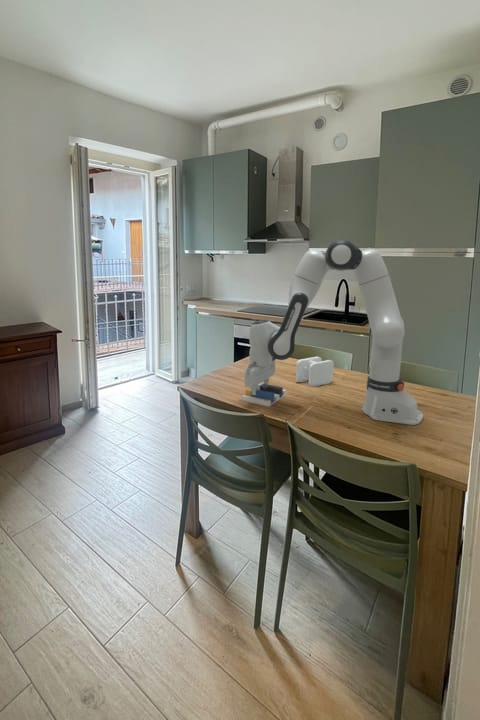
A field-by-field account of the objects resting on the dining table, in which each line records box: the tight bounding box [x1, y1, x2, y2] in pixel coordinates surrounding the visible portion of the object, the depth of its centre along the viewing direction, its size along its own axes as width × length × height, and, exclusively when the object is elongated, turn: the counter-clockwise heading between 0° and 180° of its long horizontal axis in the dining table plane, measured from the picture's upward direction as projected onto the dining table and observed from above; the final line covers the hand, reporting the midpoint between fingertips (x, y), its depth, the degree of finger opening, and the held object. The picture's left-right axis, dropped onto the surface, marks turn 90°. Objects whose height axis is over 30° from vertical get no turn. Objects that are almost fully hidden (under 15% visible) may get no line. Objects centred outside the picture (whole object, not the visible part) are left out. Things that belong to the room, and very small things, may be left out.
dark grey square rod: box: [256, 382, 284, 398], centre depth 176 cm, size 12×3×4 cm, turn 59°
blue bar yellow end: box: [245, 387, 274, 405], centre depth 170 cm, size 12×3×4 cm, turn 59°
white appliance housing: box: [241, 389, 287, 407], centre depth 173 cm, size 13×16×3 cm
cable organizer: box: [295, 356, 335, 388], centre depth 194 cm, size 15×11×12 cm
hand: (259, 391), depth 169 cm, fingers open, 8 cm apart
